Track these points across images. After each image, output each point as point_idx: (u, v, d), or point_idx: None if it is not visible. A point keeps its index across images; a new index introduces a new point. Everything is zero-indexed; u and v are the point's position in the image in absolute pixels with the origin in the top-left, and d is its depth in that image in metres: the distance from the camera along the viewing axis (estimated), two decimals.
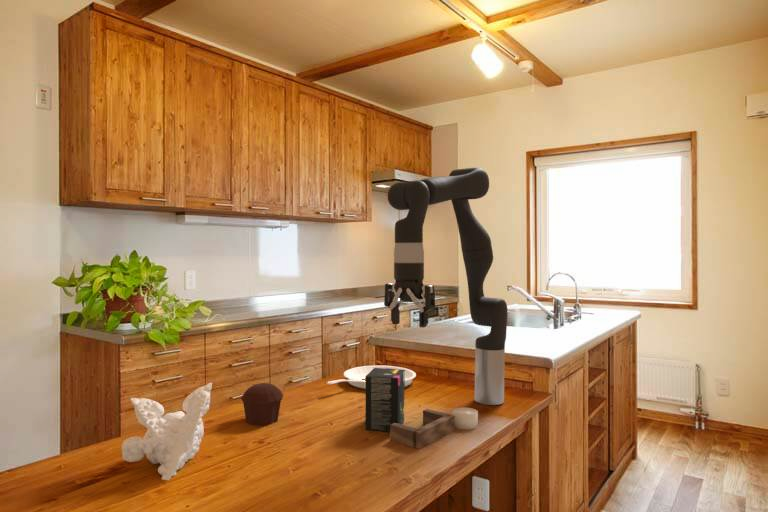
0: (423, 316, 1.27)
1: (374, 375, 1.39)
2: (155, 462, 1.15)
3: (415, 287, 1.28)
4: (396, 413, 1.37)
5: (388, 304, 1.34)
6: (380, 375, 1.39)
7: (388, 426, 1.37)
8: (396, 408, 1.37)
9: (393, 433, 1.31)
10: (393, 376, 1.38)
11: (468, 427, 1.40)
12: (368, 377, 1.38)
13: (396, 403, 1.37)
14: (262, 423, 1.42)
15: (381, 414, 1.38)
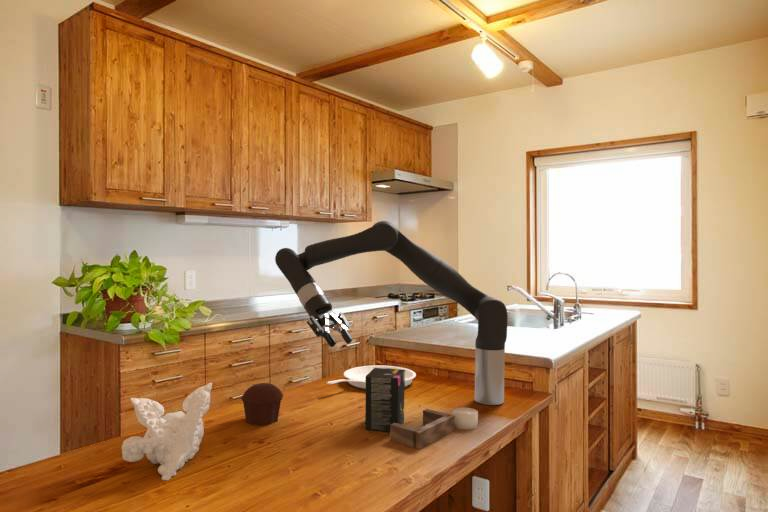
0: None
1: (374, 375, 1.39)
2: (155, 462, 1.15)
3: None
4: (396, 413, 1.37)
5: None
6: (380, 375, 1.39)
7: (388, 426, 1.37)
8: (396, 408, 1.37)
9: (393, 433, 1.31)
10: (393, 376, 1.38)
11: (468, 427, 1.40)
12: (368, 377, 1.38)
13: (396, 403, 1.37)
14: (262, 423, 1.42)
15: (381, 414, 1.38)
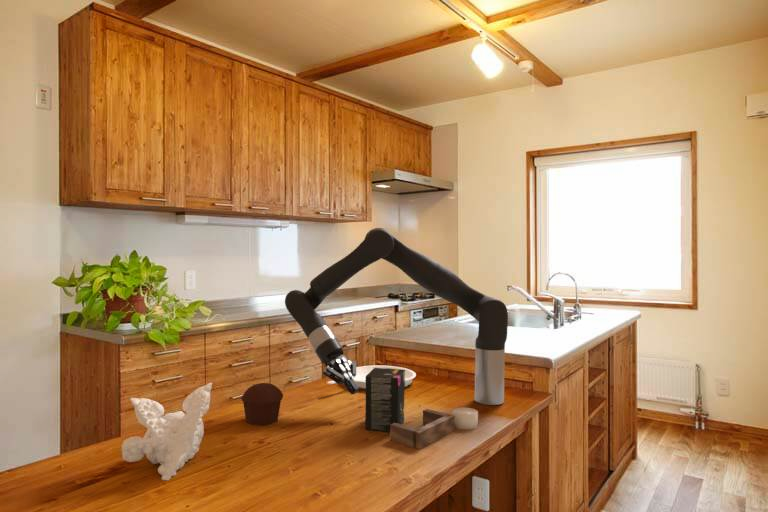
0: None
1: (374, 375, 1.39)
2: (155, 462, 1.15)
3: None
4: (396, 413, 1.37)
5: None
6: (380, 375, 1.39)
7: (388, 426, 1.37)
8: (396, 408, 1.37)
9: (393, 433, 1.31)
10: (393, 376, 1.38)
11: (468, 427, 1.40)
12: (368, 377, 1.38)
13: (396, 403, 1.37)
14: (262, 423, 1.42)
15: (381, 414, 1.38)
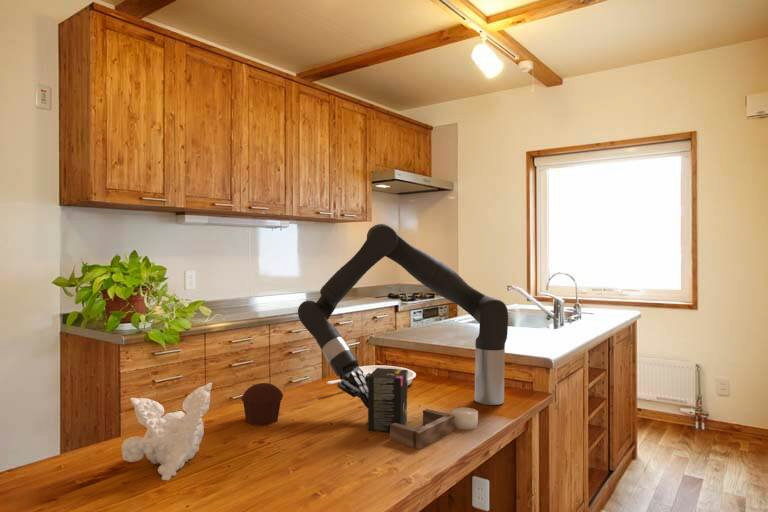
0: None
1: (377, 375, 1.39)
2: (155, 462, 1.15)
3: None
4: (399, 413, 1.36)
5: None
6: (383, 375, 1.39)
7: None
8: (399, 408, 1.36)
9: (393, 433, 1.31)
10: (396, 376, 1.38)
11: (468, 427, 1.40)
12: (371, 377, 1.38)
13: (399, 403, 1.36)
14: (262, 423, 1.42)
15: (384, 414, 1.37)
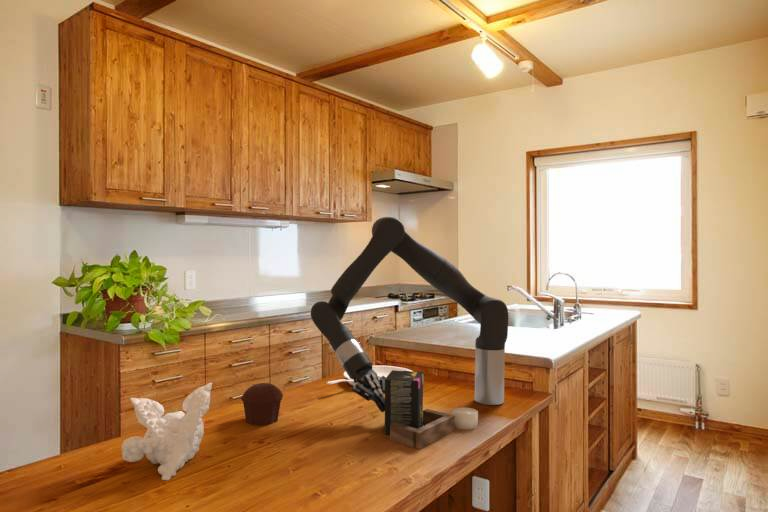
0: None
1: (393, 378, 1.36)
2: (155, 462, 1.15)
3: None
4: (416, 417, 1.34)
5: None
6: (400, 378, 1.36)
7: None
8: (416, 412, 1.34)
9: (393, 433, 1.31)
10: (413, 379, 1.35)
11: (468, 427, 1.40)
12: (387, 380, 1.35)
13: (416, 406, 1.34)
14: (262, 423, 1.42)
15: (401, 417, 1.35)
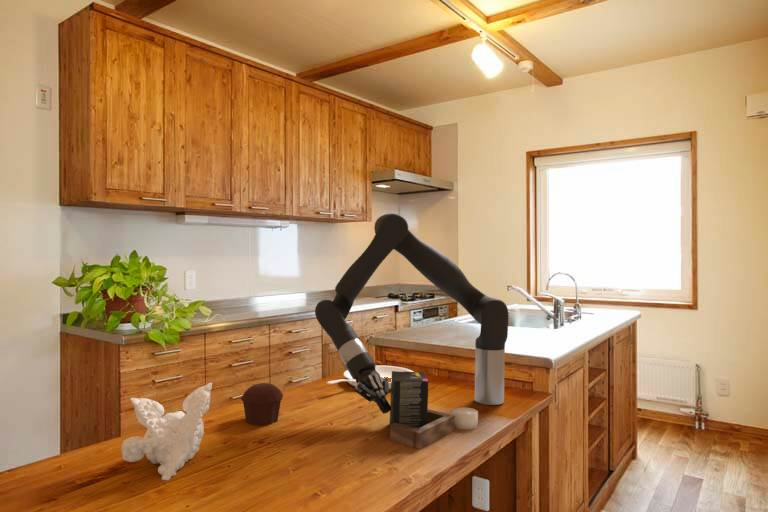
0: None
1: (402, 379, 1.35)
2: (155, 462, 1.15)
3: None
4: (425, 417, 1.34)
5: None
6: (408, 379, 1.35)
7: None
8: (426, 412, 1.34)
9: (393, 433, 1.31)
10: (422, 379, 1.35)
11: (468, 427, 1.40)
12: (397, 381, 1.33)
13: (426, 407, 1.34)
14: (262, 423, 1.42)
15: (410, 418, 1.33)
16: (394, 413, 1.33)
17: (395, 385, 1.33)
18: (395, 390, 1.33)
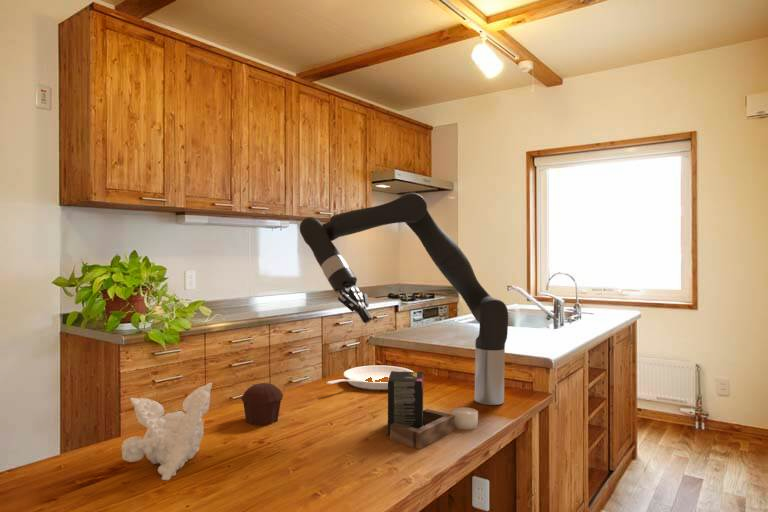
0: None
1: (396, 379, 1.36)
2: (155, 462, 1.15)
3: None
4: (420, 417, 1.34)
5: None
6: (402, 379, 1.36)
7: None
8: (420, 412, 1.34)
9: (393, 433, 1.31)
10: (416, 379, 1.35)
11: (468, 427, 1.40)
12: (391, 381, 1.35)
13: (420, 407, 1.34)
14: (262, 423, 1.42)
15: (405, 418, 1.34)
16: (389, 413, 1.35)
17: (389, 385, 1.35)
18: (389, 390, 1.35)
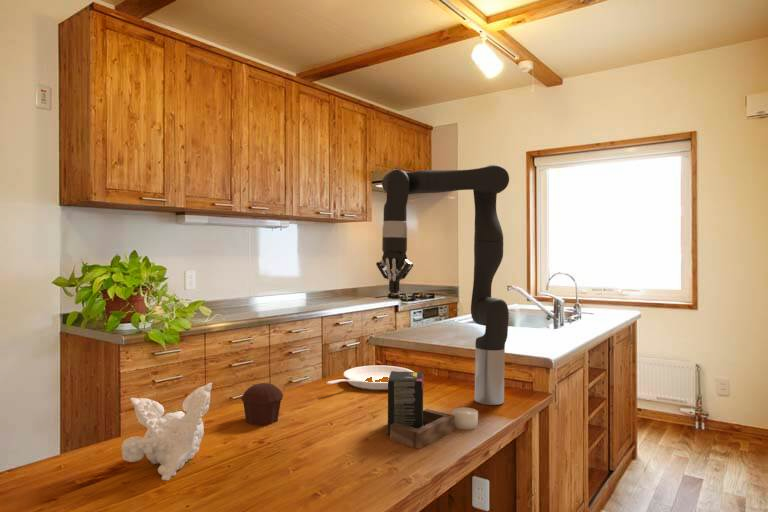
0: (395, 284, 1.57)
1: (396, 379, 1.36)
2: (155, 462, 1.15)
3: (400, 257, 1.56)
4: (420, 417, 1.34)
5: (387, 276, 1.59)
6: (402, 379, 1.36)
7: None
8: (420, 412, 1.34)
9: (393, 433, 1.31)
10: (416, 379, 1.35)
11: (468, 427, 1.40)
12: (391, 381, 1.35)
13: (420, 407, 1.34)
14: (262, 423, 1.42)
15: (405, 418, 1.34)
16: (389, 412, 1.35)
17: (389, 385, 1.35)
18: (389, 390, 1.35)
